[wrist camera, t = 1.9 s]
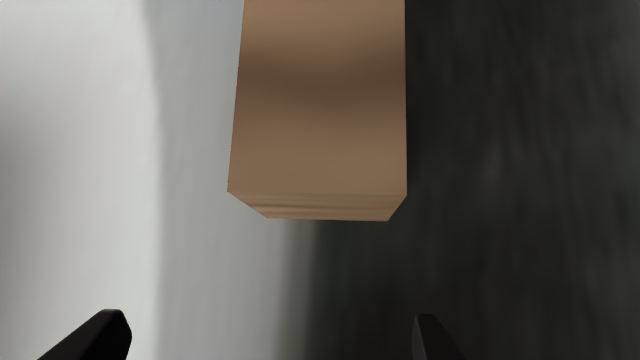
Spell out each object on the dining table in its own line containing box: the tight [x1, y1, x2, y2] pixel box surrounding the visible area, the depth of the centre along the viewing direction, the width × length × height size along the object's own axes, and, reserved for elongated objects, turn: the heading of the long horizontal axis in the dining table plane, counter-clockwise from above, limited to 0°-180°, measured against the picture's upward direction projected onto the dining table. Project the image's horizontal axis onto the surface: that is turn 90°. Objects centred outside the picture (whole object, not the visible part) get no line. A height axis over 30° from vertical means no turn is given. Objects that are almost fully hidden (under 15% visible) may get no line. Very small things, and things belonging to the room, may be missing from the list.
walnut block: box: [227, 0, 407, 221], centre depth 20 cm, size 9×7×8 cm
